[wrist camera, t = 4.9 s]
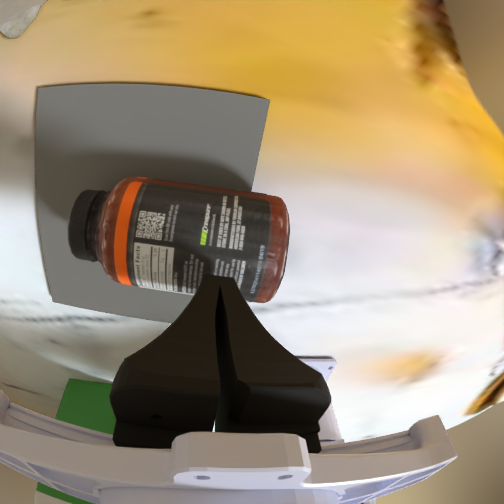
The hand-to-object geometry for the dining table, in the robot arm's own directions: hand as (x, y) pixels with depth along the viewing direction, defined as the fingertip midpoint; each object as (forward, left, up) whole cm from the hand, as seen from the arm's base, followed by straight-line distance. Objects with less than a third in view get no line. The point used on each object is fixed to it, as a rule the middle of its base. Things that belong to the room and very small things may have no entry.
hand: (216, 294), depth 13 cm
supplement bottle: (+1, -3, -4) cm, 5 cm away
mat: (0, +6, -7) cm, 9 cm away
